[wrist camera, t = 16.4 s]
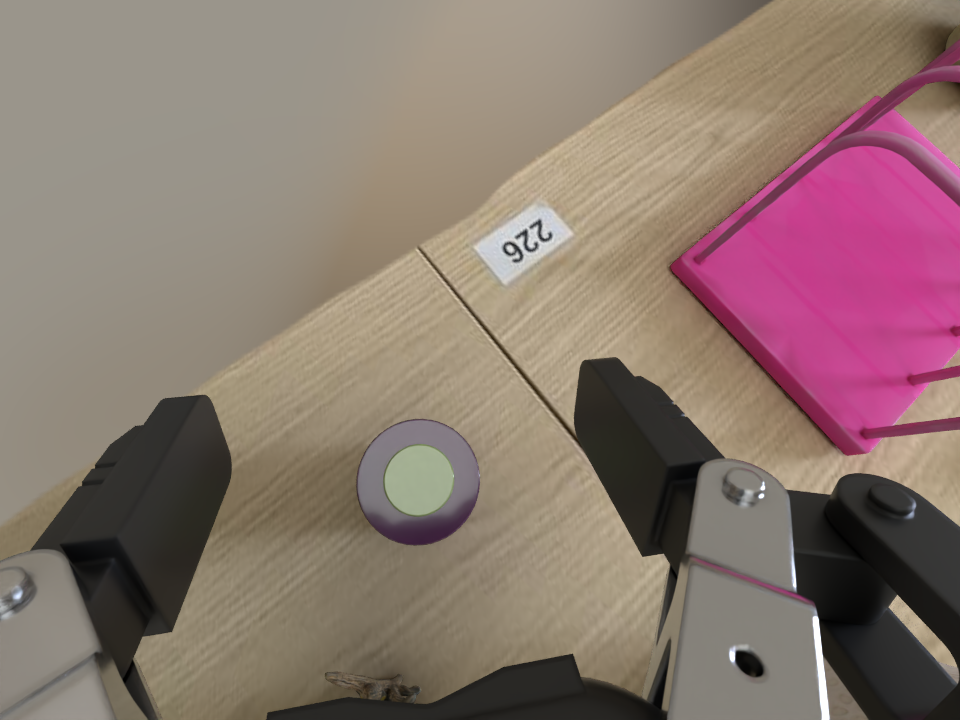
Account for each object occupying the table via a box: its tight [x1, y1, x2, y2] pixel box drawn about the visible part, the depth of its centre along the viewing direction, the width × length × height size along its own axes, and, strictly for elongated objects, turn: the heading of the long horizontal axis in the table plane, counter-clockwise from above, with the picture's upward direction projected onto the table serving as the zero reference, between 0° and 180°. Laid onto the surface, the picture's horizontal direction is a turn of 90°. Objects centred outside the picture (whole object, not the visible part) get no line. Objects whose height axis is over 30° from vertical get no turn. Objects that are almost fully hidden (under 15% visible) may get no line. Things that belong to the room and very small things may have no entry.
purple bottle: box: [356, 419, 480, 546], centre depth 23 cm, size 5×5×11 cm
